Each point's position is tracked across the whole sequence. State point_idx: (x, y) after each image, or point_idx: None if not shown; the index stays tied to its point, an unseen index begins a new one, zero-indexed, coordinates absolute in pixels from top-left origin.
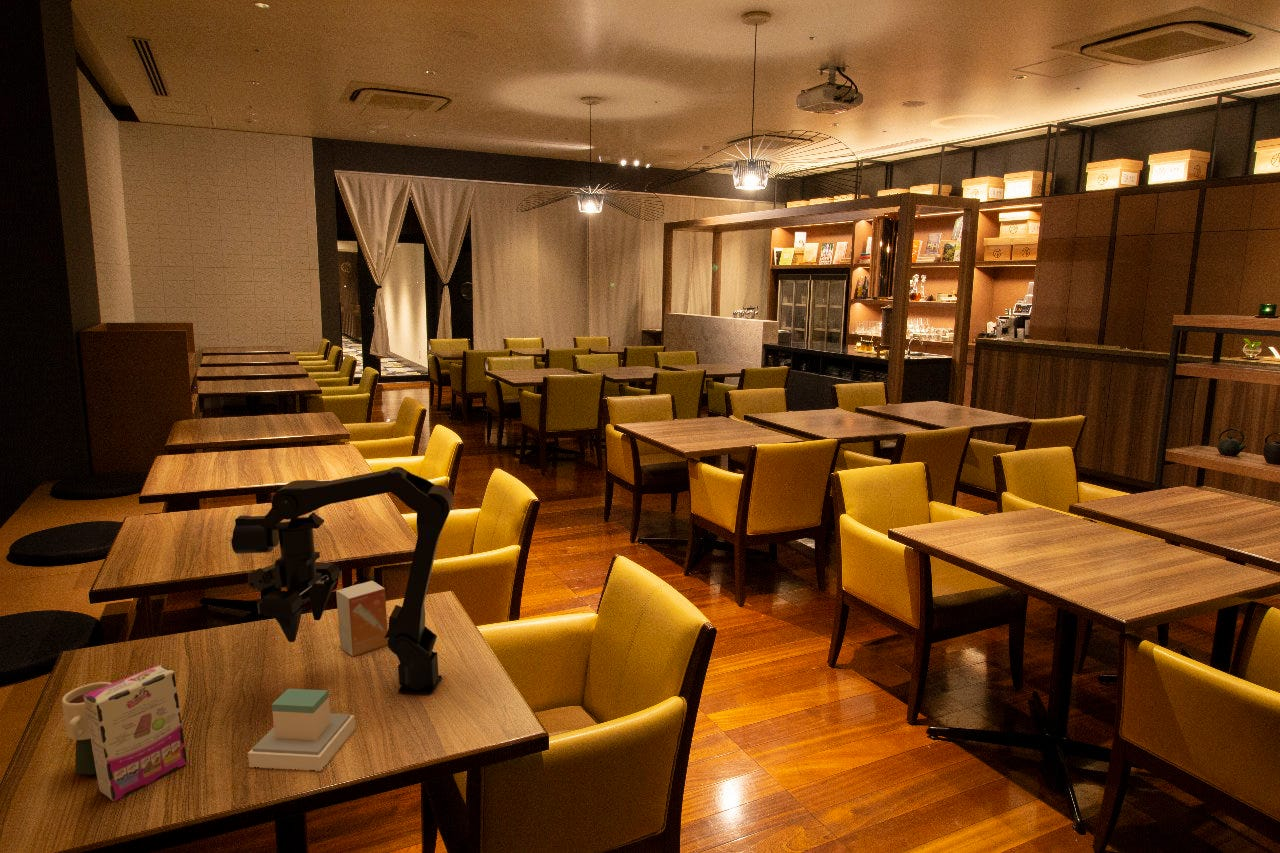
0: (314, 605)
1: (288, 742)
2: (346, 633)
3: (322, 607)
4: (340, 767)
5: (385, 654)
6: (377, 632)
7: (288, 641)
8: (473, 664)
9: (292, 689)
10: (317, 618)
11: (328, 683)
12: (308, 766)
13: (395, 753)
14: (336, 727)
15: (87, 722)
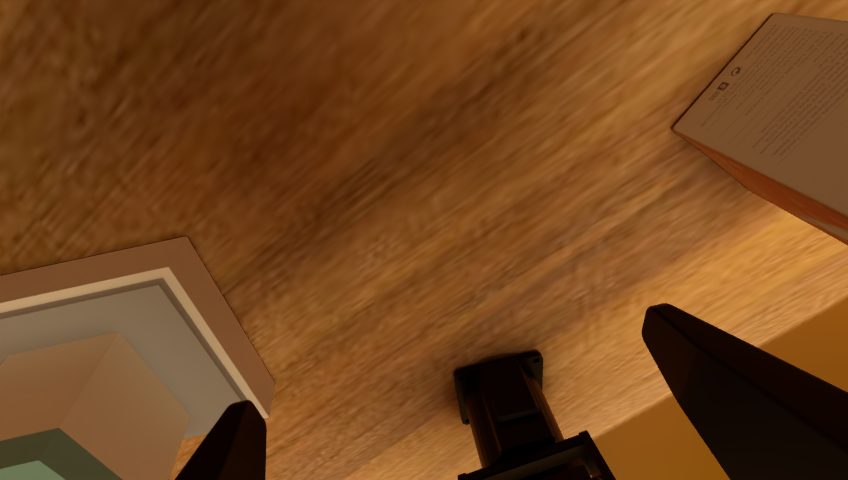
0: (766, 431)
1: None
2: (785, 118)
3: (723, 459)
4: None
5: (679, 219)
6: (784, 206)
7: (228, 406)
8: (603, 412)
9: (48, 474)
10: (652, 338)
11: (471, 171)
12: None
13: None
14: (184, 434)
15: None
